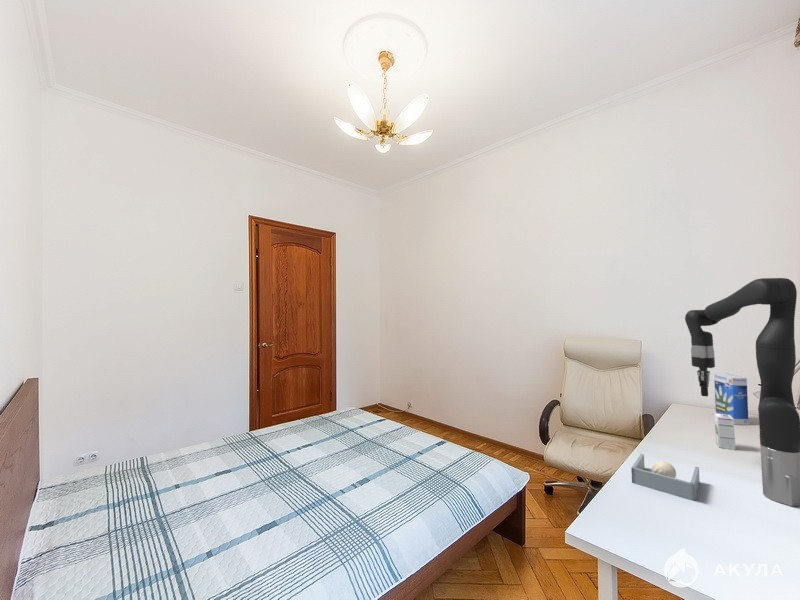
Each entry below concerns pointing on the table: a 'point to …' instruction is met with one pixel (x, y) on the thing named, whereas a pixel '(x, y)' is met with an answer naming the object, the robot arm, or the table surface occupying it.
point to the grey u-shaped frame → (665, 481)
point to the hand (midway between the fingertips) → (704, 395)
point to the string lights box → (731, 397)
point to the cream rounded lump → (664, 469)
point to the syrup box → (725, 431)
